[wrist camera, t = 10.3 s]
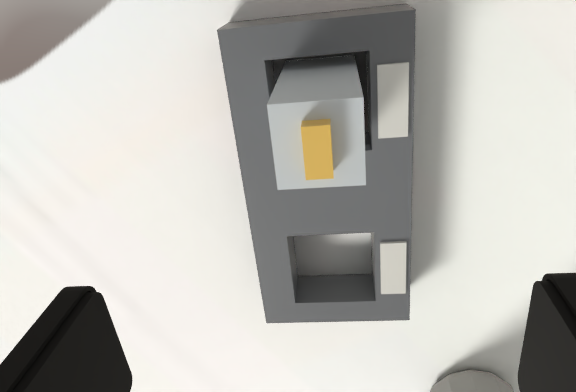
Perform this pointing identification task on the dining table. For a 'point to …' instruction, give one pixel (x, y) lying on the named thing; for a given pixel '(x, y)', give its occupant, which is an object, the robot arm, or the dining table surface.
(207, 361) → the dining table surface
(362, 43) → the panel
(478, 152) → the dining table surface
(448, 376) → the water bottle
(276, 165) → the plug
